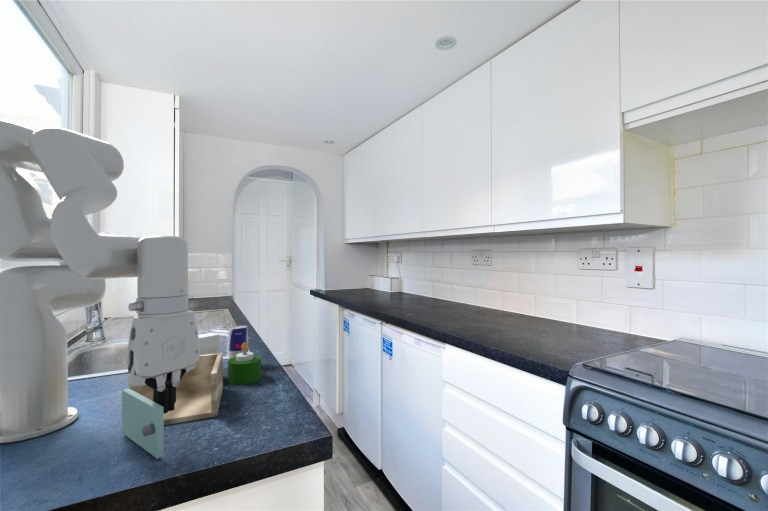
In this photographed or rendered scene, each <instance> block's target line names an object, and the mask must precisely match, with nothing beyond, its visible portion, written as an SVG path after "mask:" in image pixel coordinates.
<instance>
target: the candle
mask: <svg viewBox="0 0 768 511" xmlns="http://www.w3.org/2000/svg"><path fill="white" fill-rule="evenodd" d="M247 348H248V349H249V345H248V346H247V344H246V343H243V344H242V351H243V353H239V354H237V355H236V357H233V358H231V359H229V358H228V360H227V383H228V384H229V385H232V386H244V385H250V384H254V383H256V382H259V381H260V380H261V379H262V357H261V355H258V354H254V352H251V351H250V352H249V351H248V352H247Z"/></svg>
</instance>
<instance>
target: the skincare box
mask: <svg viewBox="0 0 768 511" xmlns="http://www.w3.org/2000/svg"><path fill="white" fill-rule="evenodd" d="M198 337H199V349H200V355H206V354H216V353H221V351H220V334H219V333H215V332H207V333H203V334H198Z"/></svg>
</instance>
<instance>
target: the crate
mask: <svg viewBox="0 0 768 511" xmlns="http://www.w3.org/2000/svg"><path fill="white" fill-rule="evenodd" d="M223 360H224V354H223V352H220V353H216V354H206V355H200V357H199V361H198V362H197V363H196V367H195V368H194V369H192V370H190V371H188V372H186V373H185V374H184V375H183V377H182V378H181V379H180V382H179V385H178V386H177V387H176V402H175V409H174V410H173V411H168V412H167V413H165V414H164V413H163V414H164V426H165V425H167V426H168V425H173V424H178V423H185V422H190V421H196V420H203V419H209V418H216V417H217V416H218V413H219V408H220V403H221V398H222V395H223V391H224V365H223V364H224V361H223ZM163 376H164V379H165V374H164V375H163ZM128 386H129V387H128V388H129V389H131V390H133V391H135V392H137V393H138V394H140V395H142V396H144V397H146V398H148V399H150V400H152V401H153V389H151V388H150V387H148V386H147V385H142V386H132V385H129V384H128Z"/></svg>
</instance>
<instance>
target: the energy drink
mask: <svg viewBox="0 0 768 511" xmlns="http://www.w3.org/2000/svg"><path fill="white" fill-rule="evenodd" d="M248 328H249V327H248V326H247V325H243V324H242V325H241V324H239V325H233V326H229V328H228V332H227V333H228V360H229V359H231V358H233V357H236V355H237V354H239V353H243V351H242V344H243V343H246V344H247V346H248V348H247V352H249V329H248Z"/></svg>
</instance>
